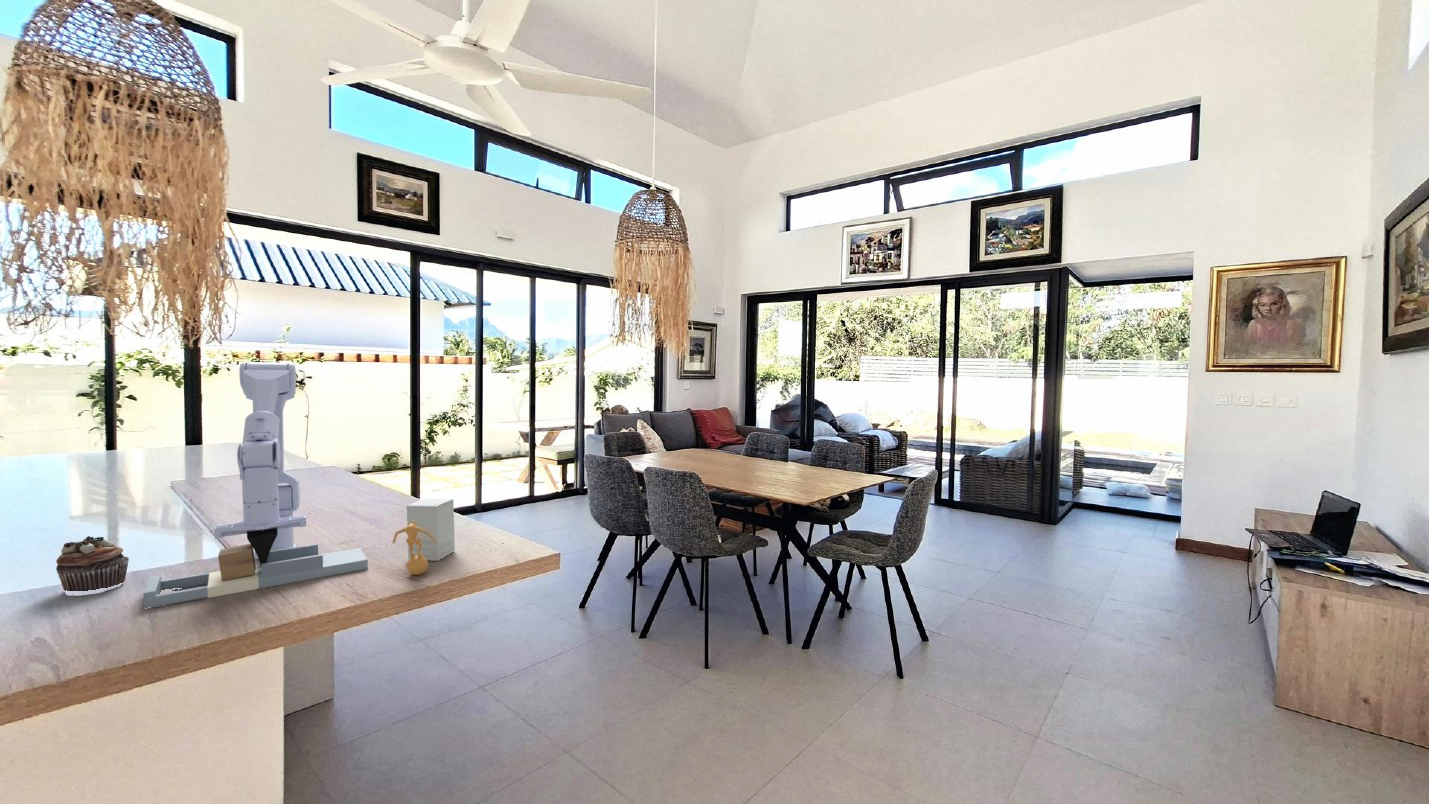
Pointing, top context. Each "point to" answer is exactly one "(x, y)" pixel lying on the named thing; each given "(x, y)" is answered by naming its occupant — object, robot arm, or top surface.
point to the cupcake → (91, 565)
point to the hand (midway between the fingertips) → (263, 566)
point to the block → (236, 562)
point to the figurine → (416, 562)
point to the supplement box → (433, 527)
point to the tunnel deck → (257, 575)
